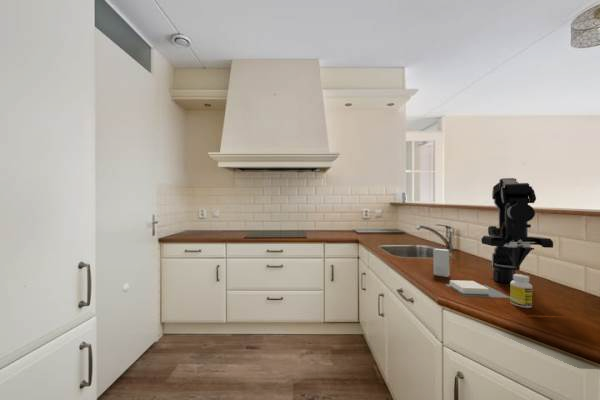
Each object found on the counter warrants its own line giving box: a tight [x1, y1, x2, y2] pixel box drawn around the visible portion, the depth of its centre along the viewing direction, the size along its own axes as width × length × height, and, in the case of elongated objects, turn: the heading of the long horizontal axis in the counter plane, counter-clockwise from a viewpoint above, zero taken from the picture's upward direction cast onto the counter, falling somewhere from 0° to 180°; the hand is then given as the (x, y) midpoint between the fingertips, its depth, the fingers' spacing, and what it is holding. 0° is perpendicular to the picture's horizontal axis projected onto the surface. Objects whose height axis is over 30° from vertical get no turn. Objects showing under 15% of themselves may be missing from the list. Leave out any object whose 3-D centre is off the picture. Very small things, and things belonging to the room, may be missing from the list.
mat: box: [445, 283, 510, 299], centre depth 95 cm, size 16×13×1 cm
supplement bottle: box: [509, 273, 533, 308], centre depth 82 cm, size 5×5×10 cm
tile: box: [449, 279, 489, 295], centre depth 95 cm, size 2×9×9 cm
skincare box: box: [432, 248, 450, 278], centre depth 115 cm, size 6×4×12 cm
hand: (515, 267), depth 83 cm, fingers closed
